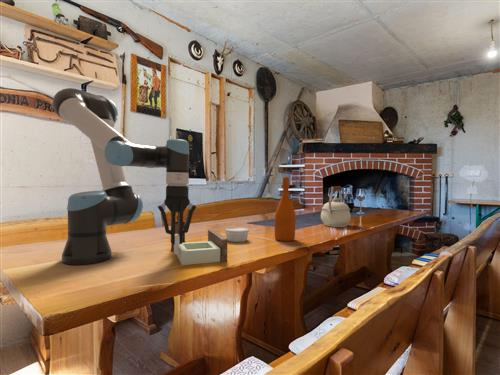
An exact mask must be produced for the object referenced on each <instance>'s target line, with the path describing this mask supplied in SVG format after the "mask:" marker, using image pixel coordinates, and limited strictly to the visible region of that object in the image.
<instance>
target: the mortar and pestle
mask: <svg viewBox="0 0 500 375" xmlns="http://www.w3.org/2000/svg"><path fill="white" fill-rule="evenodd" d="M178 218H179V214H178V213H177V215H176V219H177V221H175V234H179V233H178ZM185 222H186V221H183V229H184V226H185ZM182 243H186V233H184V234H183V242H182ZM170 246H171V247H170V248H171V249H170V250H171V251H172V252H174V244H171V245H170Z"/></svg>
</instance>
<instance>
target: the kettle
mask: <svg viewBox="0 0 500 375" xmlns="http://www.w3.org/2000/svg"><path fill="white" fill-rule="evenodd" d="M334 191H336V192H337V191H338V195H339V198H338V197H334ZM333 197H334V198H333ZM350 211H351V208H350V207H349V205H348V204H347V203H345V202H343V195H342V186H340V185H339V186H336V185H335V186H330V195H329V199H328V202H326V203H324V204H323V205H322V207H321V212H320V220H321V221H322V222H323V225H324V226H325V225H326V226H325V227H330V226H331V227H330V228H345V226H346V227H348V224H349V223H350V221H351V219H352V216H351V212H350Z"/></svg>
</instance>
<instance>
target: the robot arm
mask: <svg viewBox="0 0 500 375" xmlns="http://www.w3.org/2000/svg"><path fill="white" fill-rule="evenodd" d="M51 103H52V104H51V105H52V109H53V111H54V113H55V114H56V115H57V116H58V117H59V118H60V119H61V120H62V121H64V122H66V123H69V124H72V125H73V126H74V127H75V128H76V129H78V130H79V131H80V132H81V133H82V134H83V135H85V136H86V137H87V138H89V139H90V142H91V143H90V144H91V147H92V150H93V155H94V157H95V158H94V159H95V162H96V166H97V170H98V174H99V177H100V182H101V185H102V189H101V190H91V191H89V190H88V191H81V192H76V193H73V194H71V195H70V196H69V197H68V200H67V208H66V210H67V240H66V242H65V246H64V248H63V251H62V254H61V263H62V264H65V265H71V266H72V265H73V266H74V265H75V266H78V265H79V266H81V265H83V266H84V265H91V264H97V263H101V262H102V263H103V262H105V261H108V260H110V259H111V258H112V248H111V245H110V243H109V240H108V237H107V227H108V226H109V227H110V226H115V225H116V226H117V225H123V224H126V225H127V224H129V223H132V222H135V221H137V219H139V218H140V216H141V213H142V212H143V209H144V208H143V207H144V206H143V205H144V203H143V200H142V197H141V196H140V195H139V193H136V192H134V190H133V188H132V185H131V184H128V183H127V180H126V177H125V174H124V173H125V172H124V170H123V167H139V168H147V169H157V168H161V169H162V168H163V169H164V168H165V172H166V173H165V175H166V176H165V183H166V186H165V199H164V202H163V203H162V204H160V205H157V208H158V210H159V211H160V214H161V219H162V222H163V227H164V231H165V233H166V234H167V235H170V243H171V245H172V244H174V251H173V254H174V255H176V254H179V244H182V242H183V234H184V233H185V234H188V232H189V230H190V226H191V225H190V224H191V222H192V219H193V218H192V217H193V214H194V212H195V210H196V208H197V206H196V205H195V204H193V203H191V201H190V199H189V190H190V189H189V188H190V187H189V186H188V185H189V182H190V181H189V180H190V178H189V173H190V172H189V165H190V164H189V162H190V146H189V141H187V140H185V139H181V138H180V139H179V138H177V139H175V138H169V139H167V140H166V144H165V146H161V145H160V146H156V145H155V146H154V145H146V144H142V143H141V144H140V143H133V142H131V141H130V140H129V139H127V138H126V137H124V135H122V134H121V133H119V132H118V131H117V130H115V129H114V127H115V126H116V125H115V124H116V122H117V120H118V117H117V116H119V114H118V108H117V106H116V104H115V102H114V101H113V100H112V99H110V98H107V97H105V96H104V95H99V94H94V93H91V92H87V91H84V90H81V89H78V88H72V87H66V88H62V89H61V90H58V91H57V92H56V93H55V94H54V96H53V98H52V102H51ZM166 208H167V209H168V211H170V227H169V223H168V219H167V215H166V211H165V210H166ZM187 208H188V210H187V211H188V212H187V216H186V219H185V221H184V212H185V211H186V209H187ZM176 213H177V214H176ZM178 214H179V218H178V220H177V222H178V233H179V234H175V222H176V216H177V215H178ZM183 222H185V226H184V229H183Z"/></svg>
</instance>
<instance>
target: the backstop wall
mask: <svg viewBox="0 0 500 375" xmlns="http://www.w3.org/2000/svg"><path fill="white" fill-rule="evenodd" d="M207 241H212V242H213V243H214V244H216V245H217V246H218V247H219V248H220V262H221V263H226V262H228V239H227V238H226V236H224V235H222V234H220V233H219V232H217V231H216V230H215V229H208V230H207Z"/></svg>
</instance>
